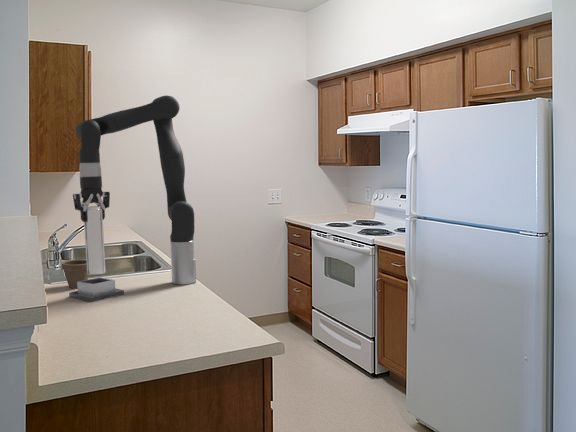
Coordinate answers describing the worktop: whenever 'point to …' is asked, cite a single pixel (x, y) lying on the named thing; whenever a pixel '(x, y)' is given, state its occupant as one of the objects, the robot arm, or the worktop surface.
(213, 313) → the worktop surface
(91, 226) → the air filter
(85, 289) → the duct collar
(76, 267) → the flower pot
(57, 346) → the worktop surface
